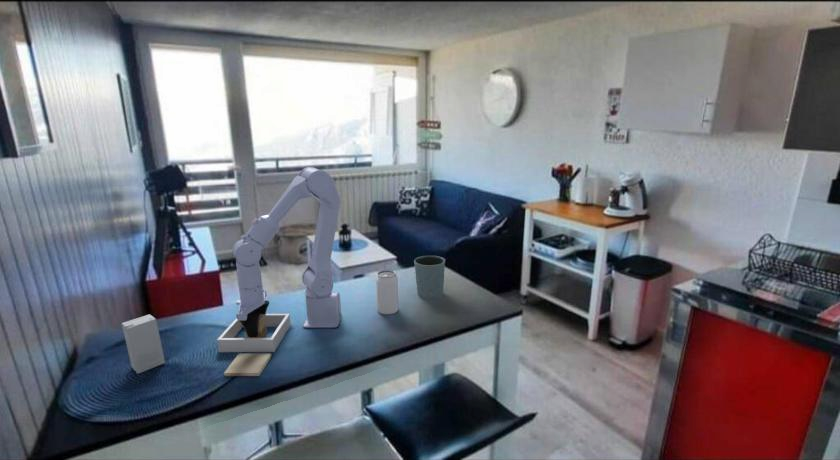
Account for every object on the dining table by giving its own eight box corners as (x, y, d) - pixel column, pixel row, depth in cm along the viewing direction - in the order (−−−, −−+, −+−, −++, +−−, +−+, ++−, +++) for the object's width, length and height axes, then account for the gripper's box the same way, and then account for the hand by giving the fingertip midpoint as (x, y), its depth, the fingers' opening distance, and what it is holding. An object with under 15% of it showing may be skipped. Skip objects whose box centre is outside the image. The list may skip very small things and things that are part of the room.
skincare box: (159, 357, 103) (150, 312, 99) (166, 363, 100) (157, 318, 97) (130, 368, 98) (120, 322, 95) (136, 375, 95) (126, 328, 92)
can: (373, 313, 125) (372, 275, 122) (383, 304, 131) (382, 268, 128) (392, 316, 123) (391, 279, 120) (401, 307, 129) (401, 271, 125)
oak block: (267, 334, 113) (264, 313, 112) (261, 341, 109) (259, 320, 108) (252, 334, 113) (249, 313, 112) (246, 341, 110) (243, 320, 108)
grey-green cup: (445, 300, 133) (445, 265, 130) (413, 300, 134) (413, 265, 130) (444, 287, 143) (444, 255, 140) (414, 287, 143) (414, 255, 140)
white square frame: (290, 324, 118) (289, 313, 117) (274, 351, 105) (272, 339, 104) (241, 325, 118) (240, 313, 117) (218, 352, 105) (216, 339, 104)
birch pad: (271, 356, 103) (271, 353, 103) (259, 375, 95) (258, 372, 95) (239, 356, 103) (238, 353, 103) (224, 375, 95) (224, 372, 95)
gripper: (246, 274, 114) (251, 319, 118) (222, 297, 100) (229, 346, 104) (272, 274, 114) (276, 319, 118) (251, 296, 100) (257, 346, 104)
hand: (256, 332), depth 111 cm, fingers closed on oak block, 4 cm apart
